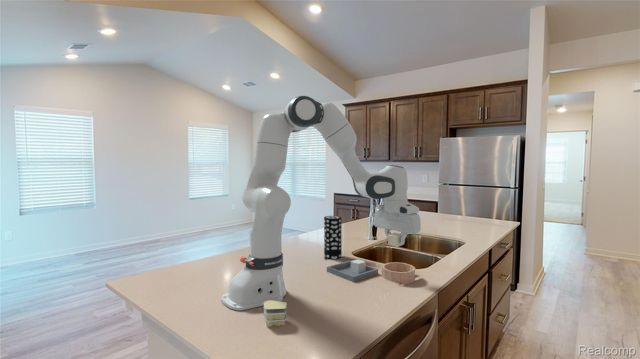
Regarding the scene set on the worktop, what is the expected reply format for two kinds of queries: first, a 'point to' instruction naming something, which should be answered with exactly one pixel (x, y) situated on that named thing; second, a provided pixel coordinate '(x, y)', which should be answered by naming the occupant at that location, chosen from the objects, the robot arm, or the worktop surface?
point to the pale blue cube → (358, 266)
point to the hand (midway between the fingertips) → (395, 241)
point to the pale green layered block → (275, 313)
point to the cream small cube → (394, 239)
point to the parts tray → (346, 273)
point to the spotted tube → (332, 237)
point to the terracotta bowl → (398, 272)
